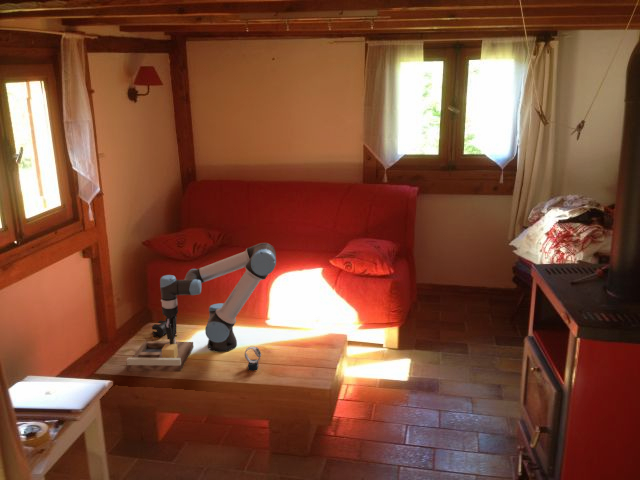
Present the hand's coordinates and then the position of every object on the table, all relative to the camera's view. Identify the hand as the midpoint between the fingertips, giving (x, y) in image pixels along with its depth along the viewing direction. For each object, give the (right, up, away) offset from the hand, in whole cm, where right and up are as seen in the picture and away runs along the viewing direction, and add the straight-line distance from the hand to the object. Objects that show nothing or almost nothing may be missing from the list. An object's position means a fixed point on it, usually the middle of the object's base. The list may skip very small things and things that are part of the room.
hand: (173, 349), depth 297 cm
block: (0, -3, -4) cm, 5 cm away
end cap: (-13, +3, +30) cm, 33 cm away
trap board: (-6, -5, +2) cm, 8 cm away
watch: (+42, -8, -8) cm, 43 cm away
